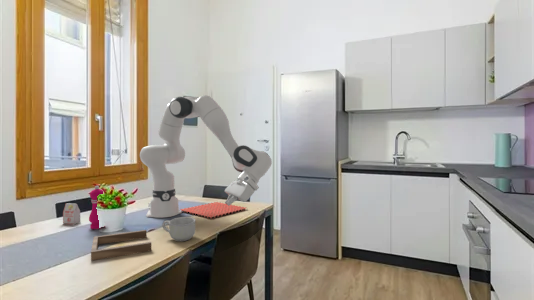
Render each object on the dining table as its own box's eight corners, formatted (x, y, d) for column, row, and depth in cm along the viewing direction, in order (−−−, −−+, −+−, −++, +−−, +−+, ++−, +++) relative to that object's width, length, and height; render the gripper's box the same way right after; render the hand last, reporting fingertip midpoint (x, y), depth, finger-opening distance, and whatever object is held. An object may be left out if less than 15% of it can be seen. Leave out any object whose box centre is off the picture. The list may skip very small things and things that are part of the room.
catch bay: (93, 244, 120) (93, 236, 120) (146, 236, 129) (146, 229, 129) (91, 260, 104) (90, 252, 103) (151, 250, 112) (151, 242, 112)
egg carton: (216, 204, 196) (216, 201, 196) (247, 211, 179) (247, 207, 178) (179, 212, 175) (179, 209, 175) (210, 220, 157) (210, 217, 157)
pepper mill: (98, 229, 140) (97, 187, 139) (85, 229, 141) (84, 186, 141) (109, 225, 147) (109, 184, 146) (97, 224, 148) (96, 184, 148)
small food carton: (69, 221, 155) (69, 202, 154) (80, 222, 153) (80, 203, 153) (63, 223, 151) (62, 204, 151) (74, 224, 149) (73, 204, 149)
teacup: (200, 236, 129) (200, 217, 129) (185, 244, 119) (185, 224, 119) (173, 233, 134) (172, 215, 134) (156, 241, 124) (156, 221, 123)
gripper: (233, 174, 148) (214, 196, 144) (251, 179, 130) (230, 204, 126) (242, 183, 151) (223, 204, 146) (260, 188, 132) (240, 213, 128)
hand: (226, 204), depth 136 cm, fingers closed
